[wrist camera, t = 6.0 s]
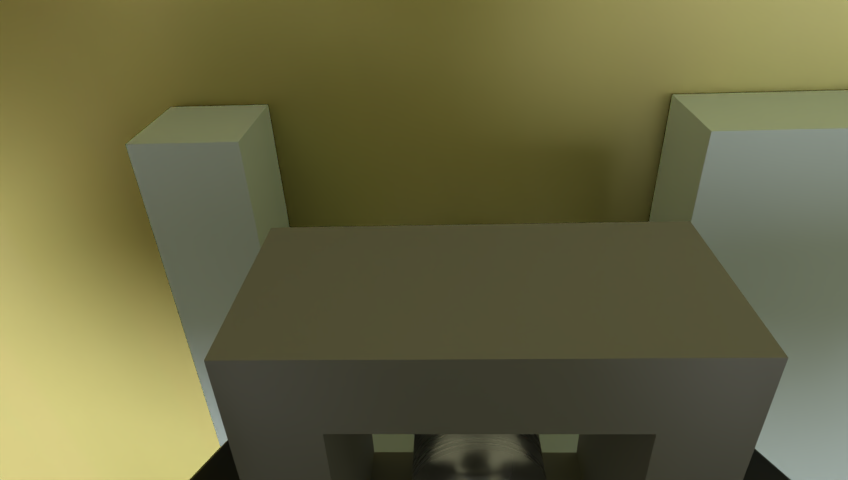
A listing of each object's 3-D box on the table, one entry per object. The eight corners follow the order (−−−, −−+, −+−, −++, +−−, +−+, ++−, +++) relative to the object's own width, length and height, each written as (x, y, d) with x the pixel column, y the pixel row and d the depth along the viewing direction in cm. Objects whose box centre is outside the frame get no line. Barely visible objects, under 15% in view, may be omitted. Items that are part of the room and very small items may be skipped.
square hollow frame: (690, 220, 9) (788, 357, 6) (629, 491, 12) (678, 653, 10) (271, 227, 9) (204, 359, 7) (322, 489, 13) (290, 646, 10)
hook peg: (511, 229, 13) (552, 449, 8) (508, 301, 14) (543, 536, 9) (422, 231, 13) (407, 449, 8) (425, 302, 14) (414, 535, 9)
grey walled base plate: (1214, 80, 11) (1693, 205, 7) (895, 567, 19) (1021, 761, 15) (170, 106, 12) (19, 231, 8) (290, 561, 20) (249, 742, 16)
